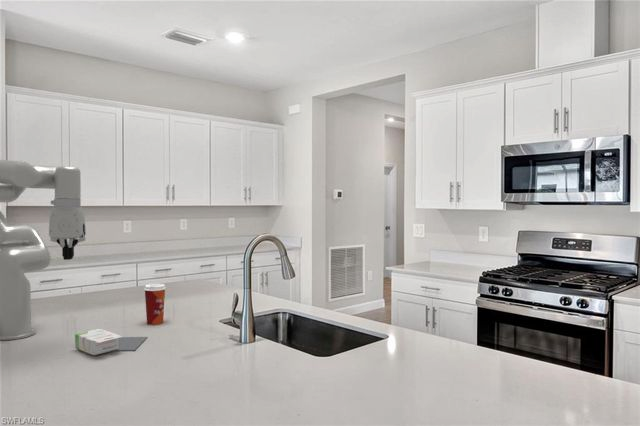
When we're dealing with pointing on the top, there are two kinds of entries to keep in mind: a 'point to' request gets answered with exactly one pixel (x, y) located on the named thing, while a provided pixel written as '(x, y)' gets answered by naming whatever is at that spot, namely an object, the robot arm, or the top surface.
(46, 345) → the top surface
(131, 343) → the mat
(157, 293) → the coffee cup
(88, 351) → the ink box
